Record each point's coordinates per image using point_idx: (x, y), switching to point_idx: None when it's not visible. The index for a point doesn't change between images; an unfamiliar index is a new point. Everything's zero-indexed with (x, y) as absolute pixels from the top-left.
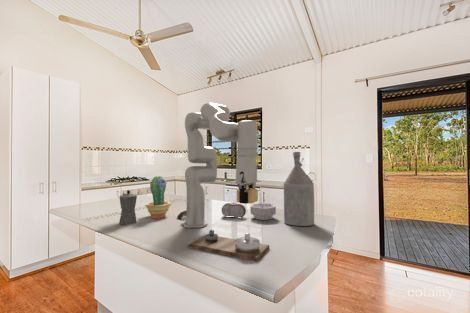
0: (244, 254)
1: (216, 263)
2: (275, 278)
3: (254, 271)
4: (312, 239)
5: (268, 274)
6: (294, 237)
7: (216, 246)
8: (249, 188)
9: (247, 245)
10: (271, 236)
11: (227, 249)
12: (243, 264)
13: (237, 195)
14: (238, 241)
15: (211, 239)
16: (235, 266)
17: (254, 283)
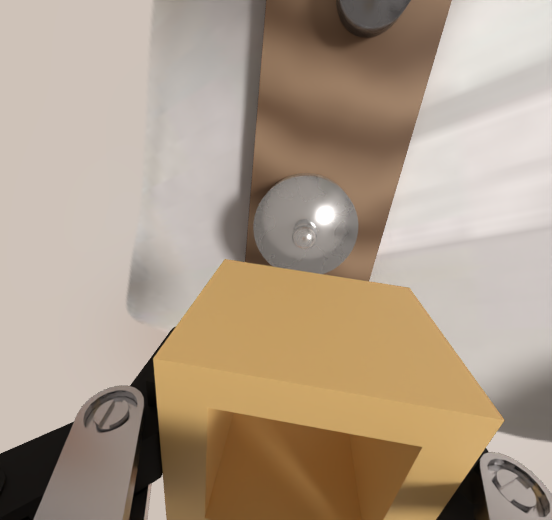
0: (249, 226)
1: (181, 142)
2: (179, 316)
3: (188, 268)
4: (491, 397)
5: (189, 300)
6: (513, 349)
7: (287, 77)
8: (459, 503)
9: (256, 242)
10: (524, 269)
11: (271, 146)
12: (213, 229)
13: (198, 307)
14: (282, 197)
15: (339, 7)
16: (190, 211)
17: (135, 279)
